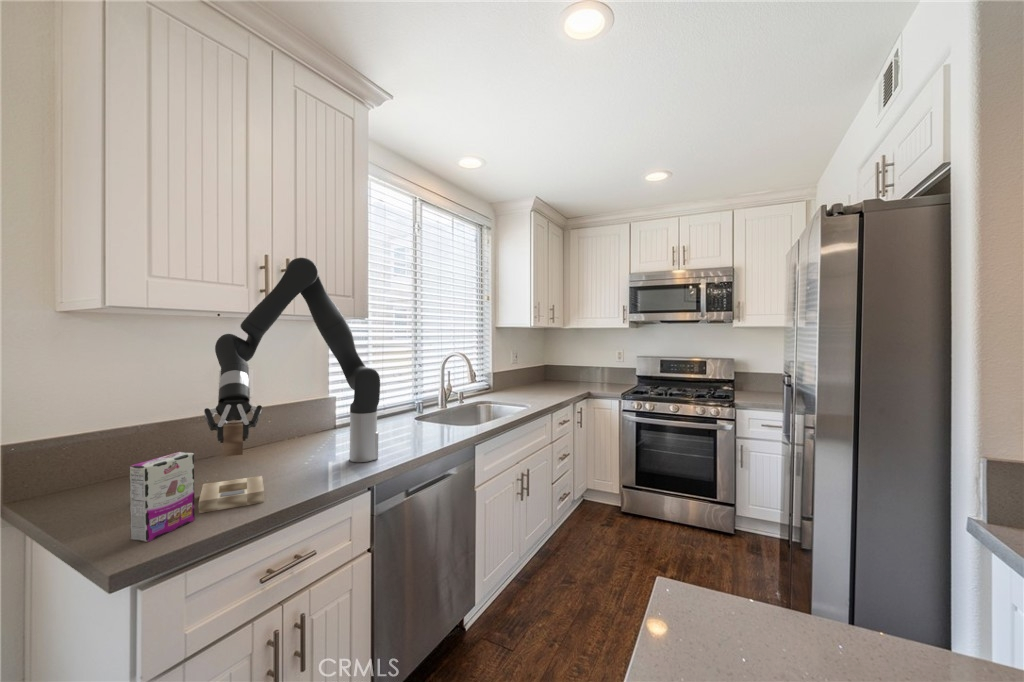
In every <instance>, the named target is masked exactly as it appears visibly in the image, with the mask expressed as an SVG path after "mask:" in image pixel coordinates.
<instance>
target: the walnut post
mask: <svg viewBox="0 0 1024 682" xmlns="http://www.w3.org/2000/svg"><path fill="white" fill-rule="evenodd" d="M223 436H224V438H223V443H222V457H232V456H235V457H236V456H243V453H244V452H243V450H244V449H243V448H244V441H243V422H240V421H239V422H227V423H224V426H223Z"/></svg>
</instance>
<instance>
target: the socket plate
mask: <svg viewBox="0 0 1024 682" xmlns="http://www.w3.org/2000/svg"><path fill="white" fill-rule="evenodd" d="M264 502H265V487H264V480H263V475H258V476H251V477H243V478H237V479H231V480H223V481H216V482H209V483H203V484H202V488H201V492H200V495H199V500H198V513H199V514H202V513H208V512H215V511H221V510H227V509H231V508H236V507H244V506H249V505H254V504H261V503H264Z"/></svg>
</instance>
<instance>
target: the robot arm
mask: <svg viewBox="0 0 1024 682" xmlns="http://www.w3.org/2000/svg"><path fill="white" fill-rule="evenodd" d="M299 294H300V295H301V296H302V297H303V299H304V301H305V303H306V304H307V308H308V310H309V312H310V315H311V317H312V320H313V322H314V324H315V326H316V327H317V329H318V331H319V333H320V335H321V337H322V338H323V340H324V342H325V343H326V346H328V348H329V349H330V351H331V353H332V355H333V356H334V358H335V359H336V361H337V362H338V364H339V366H340V368H341V371H342V372H343V375H344V378H345V379H346V382H347V384H348V386H349V388H351V389H352V390H354V391H353V392H354V394H353V401H352V403H351V404H350V406H349V455H348V456H349V461H350V462H353V463H368V462H372V461H375V460H379V432H378V406H379V403H380V396H381V395H380V394H381V378H380V374H379V373H378V371H377V370H376V369H374V368H372V367H368V366H366V365H365V363H364V362H363V361H362V359H361V357H360V356H359V353H358V352H357V349H356V346H355V340H354V335H353V332H352V330H351V328H350V326H349V324H348V322H347V320H346V319H345V317H344V315H343V314H342V312H341V311H340V308H339V307H338V306H337V305H336V303H335V302H334V301H333V299H332V298H331V296H329V294H328V292H327V290H326V289H325V287H324V284H323V282H322V280H321V278H320V275H319V269H318V266H317V265H316V264H315V262H314V261H313V260H311V259H309V258H306V257H296V258H294V259H292V260H291V261H290V262H289V263H288V264H287V267H286V270H285V272H284V273H283V275H282V276H281V278H280V280H279V281H278V283H277V284H276V285H275V286H274V288H273V289H272V290H271V291H270V292H269V293H268V294H267V295H266V296H265V297H264V298H263V299H262V300H261V301H260V302H259V303H258V304H257V305H256V306H255V307H254V309H252V310H251V311H250V313H249V314H248V315H246V317H245V318H244V319H243V321H242V322H241V323H240V329H241V330H242V331H243V332H244V333H245V334H246V335H247V338H246V339H243V338H241V337H239V336H237V335H235V334H232V333H225V334H223V335H221V336H220V337H219V338H218V339H217V340H216V343H215V346H214V351H215V355H216V358H217V360H218V361H217V362H218V365H219V366H220V377H219V378H220V379H219V382H218V399H217V405H216V406H215V408H211V409H210V408H205V409H204V411H203V412H204V417H205V420H206V422H207V425H208V427H209V430H210V431H216V432H217V434H216V435H217V437H216V439H217V442H220V443H219V444H223V438H224V436H223V426H224V423H229V422H231V421H239V422H243V442H246V440H247V439H249V437H250V435H249V434H250V432H249V430H250V428H256V426H257V424H258V422H259V420H260V417H261V414H262V409H263V407H262V405H259V404H258V405H256V406H255V405H254V406H253V405H252V403H250V402H251V400H250V399H251V394H250V392H251V391H250V390H251V387H250V386H251V385H250V384H251V383H250V379H249V378H250V377H249V372H250V371H249V370H250V368H249V364H248V362H249V361H250V360H251V359H252V358H254V355H255V353H256V352H257V349H258V347H259V344H260V343H261V340H262V338H263V337H264V335H266V333H267V331H268V330H270V328H271V327H272V326H273V325H274V324H275V323H276V321H277V319H279V317H280V316H281V315H282V313H283V312H284V311H285V310H286V308H288V306H289V305H290V303H292V301H293V300H295V299H296V298H297V296H298V295H299ZM250 412H252V418H251V420H248V417H247V415H248V414H249V413H250ZM216 413H217V415H218V416H219V417H220V420H219V422H218V423H216V422H215V419H214V417H215V414H216Z"/></svg>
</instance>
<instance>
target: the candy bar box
mask: <svg viewBox="0 0 1024 682" xmlns="http://www.w3.org/2000/svg"><path fill="white" fill-rule="evenodd" d="M129 501H130V502H129V503H130V506H129V508H130V509H129V510H130V540H132V541H135V542H136V541H137V542H145V543H146V542H147V543H148V542H151V541H153V540H155V539H157V538H159V537H162V536H164V535H166V534H169V533H170V532H172V531H175V530H178V529H179V528H181V527H184V526H185V525H187V524H191V523H192V522H194V521H195V520H196V516H195V515H196V514H195V513H196V512H195V504H196V503H195V453H193V452H187V451H184V452H183V451H177V452H174V453H171V454H167V455H163V456H160V457H156V458H153V459H149V460H146V461H141V462H140V463H139V462H138V463H135V464H133V465H129Z"/></svg>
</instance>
